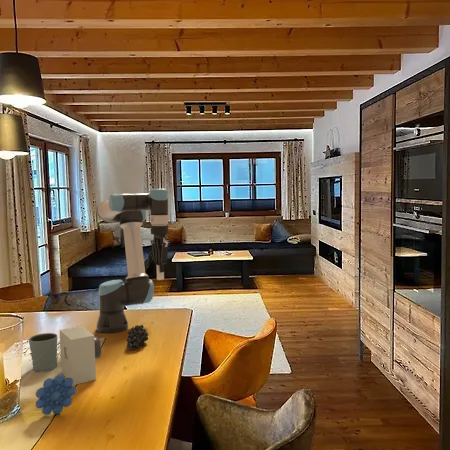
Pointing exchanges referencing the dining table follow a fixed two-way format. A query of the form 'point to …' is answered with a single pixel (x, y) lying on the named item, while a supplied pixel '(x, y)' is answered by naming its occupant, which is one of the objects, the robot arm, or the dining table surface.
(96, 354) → the knob
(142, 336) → the fruit
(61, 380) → the grapes
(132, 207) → the robot arm
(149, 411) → the dining table surface
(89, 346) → the cream rectangular block
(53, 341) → the grey-green cup
